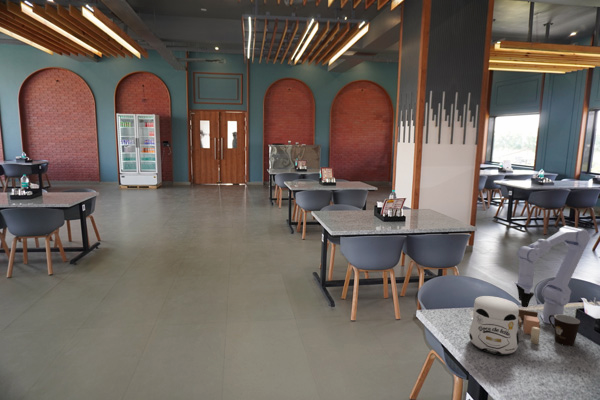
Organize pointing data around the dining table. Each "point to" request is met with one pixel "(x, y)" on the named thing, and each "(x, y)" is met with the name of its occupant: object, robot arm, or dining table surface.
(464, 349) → the dining table surface
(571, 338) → the coffee mug
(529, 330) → the tethered block
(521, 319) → the wooden u-shaped bracket
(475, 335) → the milk container
